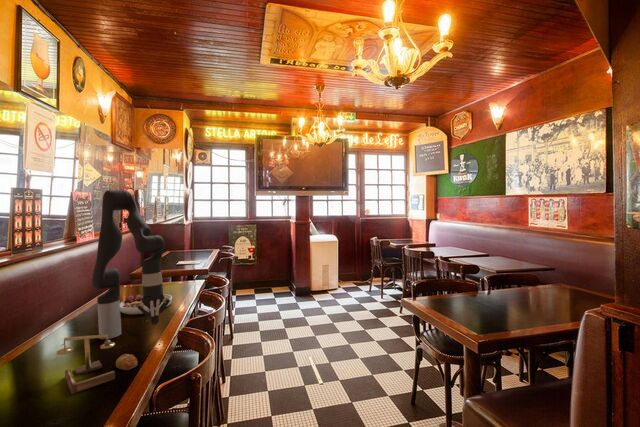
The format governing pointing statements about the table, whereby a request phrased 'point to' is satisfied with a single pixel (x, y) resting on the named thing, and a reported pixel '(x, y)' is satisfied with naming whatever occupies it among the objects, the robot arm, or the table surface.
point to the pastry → (126, 362)
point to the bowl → (132, 302)
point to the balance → (86, 353)
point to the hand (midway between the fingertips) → (154, 324)
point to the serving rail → (87, 381)
